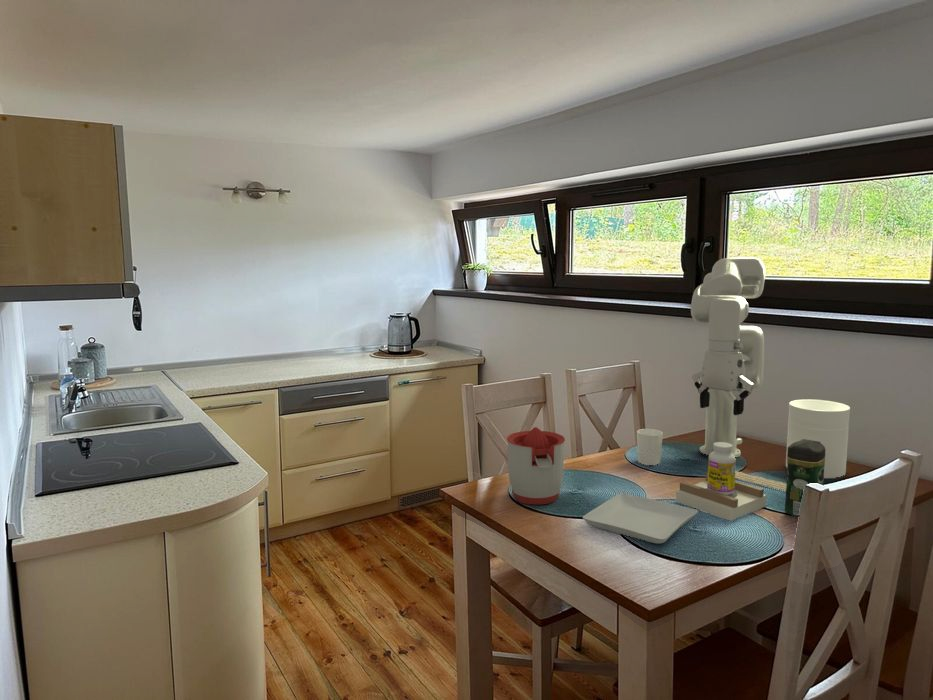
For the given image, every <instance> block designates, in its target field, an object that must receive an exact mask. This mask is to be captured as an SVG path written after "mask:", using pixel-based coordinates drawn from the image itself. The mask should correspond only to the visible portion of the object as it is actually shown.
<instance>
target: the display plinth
mask: <svg viewBox="0 0 933 700" xmlns="http://www.w3.org/2000/svg"><path fill="white" fill-rule="evenodd" d="M707 480H708V472H707V473H705V481H701V482H697V483H695V484H692V483H689V482H686V481H681V482H679V489H678V490H675V503H677V502H679V503H678V504H680V503H681V504H680V505H683V504H685V505H684V506H686V505H688V506H687V507H689V506H691V507H694V508H696V510H697V509H699V510H698V511H700V510H702V511H701V512H703V511H705V512H704V513H706V512H707V513H706V514H708V513H710V514H709V515H711V514H713V515H712V516H714V515H715V516H714V517H717V516H718V518H720V517H721V518H720V519H722V518H724V519H723V520H725V519H727V520H726V521H728V520H730V521H729V522H732V521H734V520H736V519H735V518H737V519H739V518H741V517H743V516H742V515H744V516H746V515H748V514H747V513H749V514H751V513H753V512H755V511H758V510H760V509H763V508H765V507H766V506H767V494H764V493H765V491H764V488H762V487H758V486H756V485H753V484H750V483H746V482H743V481H739V480H735V487H734V492H733V494H731V495H724V494H721V493H717V492H714V491H711V490H708V489H707ZM691 507H690V508H691ZM694 508H693V509H694ZM745 514H746V515H745ZM740 516H741V517H740ZM738 517H739V518H738ZM733 519H734V520H733ZM731 520H732V521H731Z"/></svg>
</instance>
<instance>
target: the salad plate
mask: <svg viewBox="0 0 933 700" xmlns="http://www.w3.org/2000/svg"><path fill="white" fill-rule="evenodd" d="M698 513H699V510H697V509H694V508H691V507H688V506H683V505H682V506H681V505H678V504H673V503H670V502H665V501H661V500H656V499H652V498H651V499H650V498H647V497H644V496H643V497H642V496H637V495H633V494H629V493H623V492H621V493H618V494H615V495H614V496H612V497H611V498H609V499H608V500H606V501H605V502H603V503H602V504H600V505H598V506H597V507H595V508H593V509H592V510H590V511H589V512H587V513H585V514H584V515H583V516H582V519H583V521H584V522H585V523H586V524H588V525H590V526H592V527H594V528H598V529H600V530H604V531H609V532H612V533H615V534H619V535H622V534H623V535H622V536H625V535H626V537H629V536H630V537H629V538H633V537H634V538H633V539H636V538H637V539H636V540H640V539H641V541H644V540H645V542H647V543H653V544H663V543H665V542H666V541H668V539H669V538H670V537H671V536H672V535H673V534H674V533H675V532H676V531H677V530H679V529H680V528H681V527H683V526H684V525H685V524H686V523H688V522H689V521H690V520H692V519H693V518H695V516H696V515H697V514H698Z"/></svg>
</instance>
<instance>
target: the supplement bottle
mask: <svg viewBox="0 0 933 700" xmlns="http://www.w3.org/2000/svg"><path fill="white" fill-rule="evenodd" d="M713 449H714V452H712V453H710V454H709V456H708V459H707V460H708V463H707V464H708V466H707V473H708V480H707V489H708V490H711V491H714V492H717V493H721V494H724V495H731V494H733V492H734V487H735V481H736V480H735V471H736V468H737V467H736V465H737V463H736V462H737V457H736V458H735V456H734V455H733V454H732V453H731V451H732V444H729V443H725V442H716V443H714V444H713Z"/></svg>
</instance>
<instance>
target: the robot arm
mask: <svg viewBox="0 0 933 700" xmlns="http://www.w3.org/2000/svg"><path fill="white" fill-rule="evenodd" d="M765 279H766V267H765V265H764V262H763V261H762V260H761V259H760V258H757V257H726V258H725V257H724V258H721V259H719V260H717V261H715V263H714V265H713V266H712V270H711V272H708V273H707V274H706V275H705V276H704V278H703V283H701V284H700V285H698V286H697V287H696V288H695V289H694V291H693V294H692V298H691V304H690V305H691V306H690V315H691V317H692V320H693V321H694V322H696V323H699V324H708V331H707V332H708V334H707V335H708V336H707V349H706V350H705V352H704V357H703V361H702V367H701V368H702V369H701V371H699V372H697V373H694V374H692V375H691V377H692V381H693V382H694V386H695V387H696V389H697V393H699V408H700V409H705V432H704V433H705V437H704V445H701V446H700V447H699V452H700V451H701V452H702V453H703V454H702V453H701V452H700V453H701V454H702V455H704V454H706V455H705V456H707V455H709V454H710V453H712V452H714V449H713V444H714V443H716V442H725V443H729V444H732V451H731V453H732V454H733V455H734V456H735V457H736V458H738V457H741V455H742V454H741V449H739V448H738V447H737V446H738V445H741V444H742V443H743V438H741V437H737V428H738V427H737V426H738V416H739V415H743V412H744V409H745V399H747V397H748V396H750V395H751V394H752V392H753V390H758V389H760V388H761V387H762V385H763V381H764V369H765V368H764V366H765V365H764V364H765V361H764V360H765V335H764V332H763V330H762V328H761V327H760V326H759V327H758V326H756V325H741V324H742V323H743V322H744V321H745V320H746V319H747V317H748V315H749V307H750V306H749V303H748V302H747V300H746V299H757V298H759V297H761V295H762V294H763V291H764V287H765ZM744 356H746V357H747V358H748V359H744Z"/></svg>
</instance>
